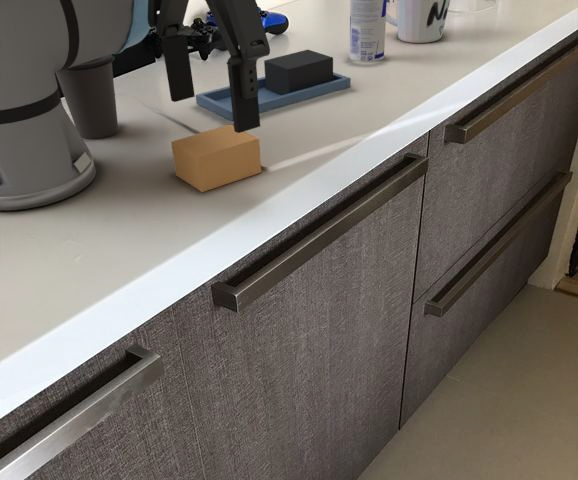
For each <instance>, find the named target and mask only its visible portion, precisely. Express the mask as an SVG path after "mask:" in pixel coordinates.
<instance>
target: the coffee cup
mask: <svg viewBox="0 0 578 480" xmlns="http://www.w3.org/2000/svg"><path fill="white" fill-rule="evenodd" d="M114 61H115V56H114V54H110V55H107V56H103V57H100V58H97V59H94V60H91V61H88V62H85V63H82V64H79V65H76V66H73V67H70V68H67V69H64V70H61V71H58V72H55V76H56V79H57V82H58V84H59V86H60V89H61V91H62V94H63V97H64V100H65V102H66V105H67V107H68V110H69V113H70V117H71V120H72V122H73V124H74V126H75V127H76V129H77V131H78V132H79V134H80V136H81V137H82V139H88V140H89V139H90V140H95V139H104V138H107V137H111V136H113V135H114V134H117V133H118V131H119V125H118V124H119V121H118V112H117V103H116V93H115V83H114V73H113V62H114Z"/></svg>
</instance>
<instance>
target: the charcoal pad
mask: <svg viewBox="0 0 578 480" xmlns="http://www.w3.org/2000/svg"><path fill="white" fill-rule="evenodd" d="M263 63H264V64H263V65H264V77H265V82H266V89H267V90H269V91H272V92H274V93H276V94H279V95H281V96H282V95H285V94H289V93H292V92H296V91H299V90H303V89H307V88H310V87H314V86H317V85H321V84H324V83H328V82H331V81H333V72H334V57H333V56H329V55H327V54H323V53H320V52H317V51H315V50H311V49H304V50H300V51H296V52H292V53H287V54H285V55H280V56H277V57H272V58H269V59H264V61H263Z"/></svg>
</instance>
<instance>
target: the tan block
mask: <svg viewBox="0 0 578 480" xmlns="http://www.w3.org/2000/svg"><path fill="white" fill-rule="evenodd" d="M170 145H171V150H172V157H173V164H174V169H175V176H176V177H178V178H179V179H181V180H182V181H183V182H185V183H187V184H189V186H192V187H194V188H195V189H197V190H198V191H199V192H201V193H205V192H207V191H210V190H213V189H217V188H219V187H222V186H226V185H228V184H231V183H234V182H238V181H239V180H243V179H246V178H249V177H252V176H255V175H258V174H261V173H262V164H261V152H260V151H261V150H260V149H261V148H260V138H259V137H257V136H256V135H255V136H254V135H253V134H251V133H249V132H247V131H244V132H240V133H237V132H235V131H234V124H227V125H223V126H219V127H217V128H213V129H209V130H207V131H203V132H199V133H195V134H193V135H189V136H185V137H182V138H179V139H176V140H172V141H170Z"/></svg>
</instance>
